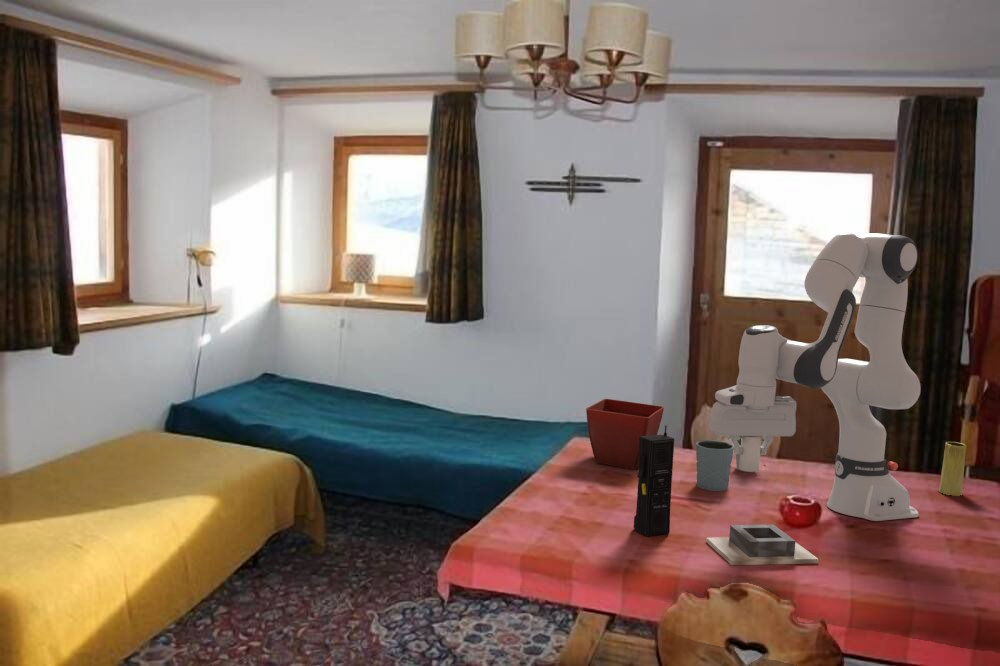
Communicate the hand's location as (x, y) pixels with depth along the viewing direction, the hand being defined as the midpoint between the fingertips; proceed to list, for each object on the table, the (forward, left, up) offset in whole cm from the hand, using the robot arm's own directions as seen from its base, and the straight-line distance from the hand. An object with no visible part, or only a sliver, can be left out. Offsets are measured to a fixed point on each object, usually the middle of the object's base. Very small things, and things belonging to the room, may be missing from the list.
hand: (750, 454), depth 212 cm
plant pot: (+10, -63, -20) cm, 66 cm away
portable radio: (+22, -3, -20) cm, 30 cm away
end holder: (+1, +11, -19) cm, 23 cm away
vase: (-76, -30, -20) cm, 84 cm away
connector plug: (0, 0, -4) cm, 4 cm away
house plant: (-26, -53, -20) cm, 62 cm away
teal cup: (-8, -38, -20) cm, 43 cm away
